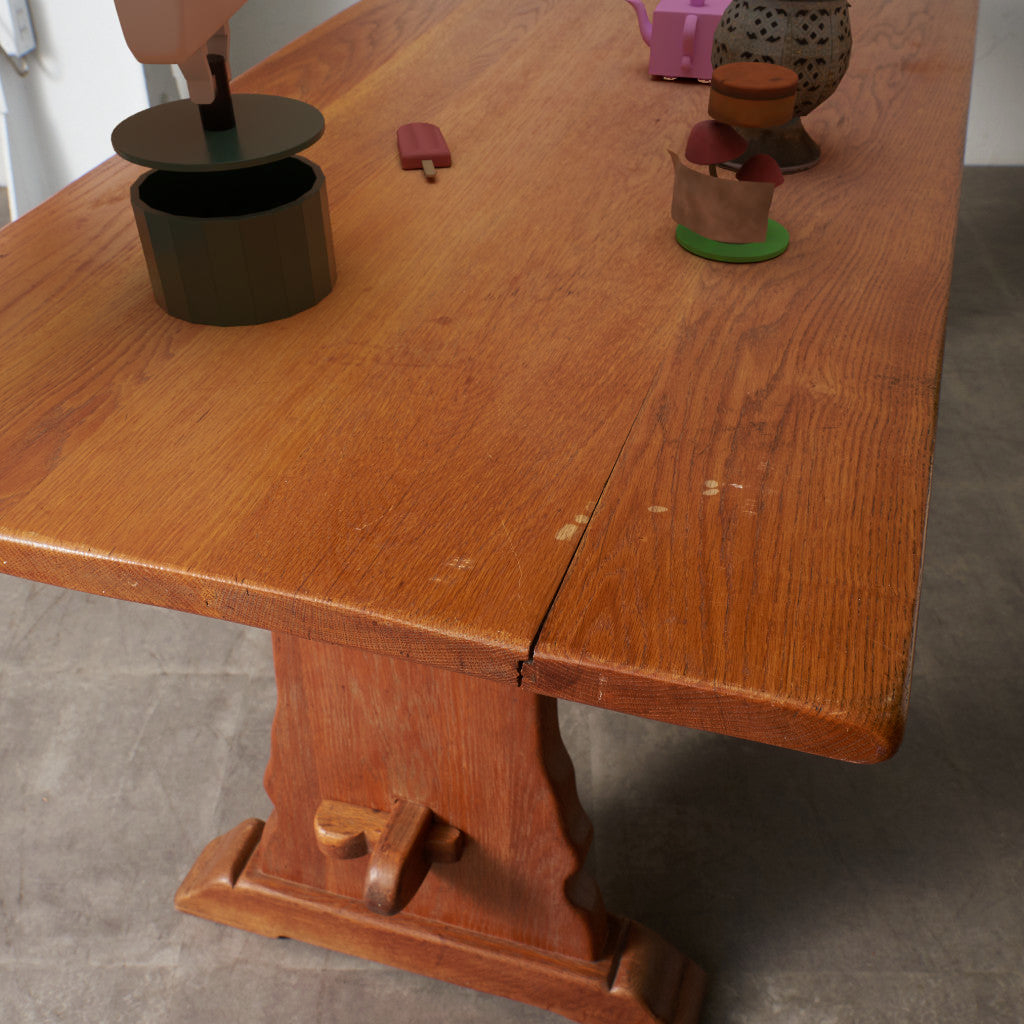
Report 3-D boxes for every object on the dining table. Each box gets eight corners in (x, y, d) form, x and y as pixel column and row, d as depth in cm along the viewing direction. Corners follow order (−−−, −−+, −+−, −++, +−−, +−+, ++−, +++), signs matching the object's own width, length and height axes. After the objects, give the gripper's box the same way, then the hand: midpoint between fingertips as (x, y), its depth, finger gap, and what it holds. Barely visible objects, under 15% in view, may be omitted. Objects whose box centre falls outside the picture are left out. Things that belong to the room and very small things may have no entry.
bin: (131, 331, 82) (101, 220, 76) (186, 248, 94) (164, 147, 88) (318, 334, 82) (303, 223, 76) (350, 251, 94) (338, 149, 88)
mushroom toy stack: (692, 203, 102) (710, 45, 93) (811, 231, 97) (843, 67, 88) (637, 245, 95) (651, 78, 85) (764, 278, 89) (793, 104, 80)
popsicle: (405, 170, 105) (393, 123, 117) (406, 185, 106) (394, 136, 118) (456, 166, 106) (439, 120, 117) (456, 181, 107) (439, 133, 118)
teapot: (609, 82, 134) (614, -1, 127) (628, 54, 144) (634, -25, 137) (746, 93, 130) (759, 8, 123) (756, 63, 140) (768, -17, 134)
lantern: (727, 123, 121) (760, -120, 105) (844, 145, 115) (897, -109, 99) (679, 159, 112) (706, -102, 96) (803, 185, 106) (854, -88, 90)
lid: (82, 179, 74) (57, 91, 70) (152, 107, 87) (135, 29, 83) (304, 181, 73) (291, 93, 69) (342, 108, 86) (333, 30, 82)
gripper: (173, -138, 77) (208, 54, 86) (72, -92, 61) (128, 138, 70) (255, -138, 77) (282, 55, 86) (175, -92, 61) (218, 138, 70)
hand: (212, 93), depth 78 cm, fingers closed on lid, 2 cm apart
